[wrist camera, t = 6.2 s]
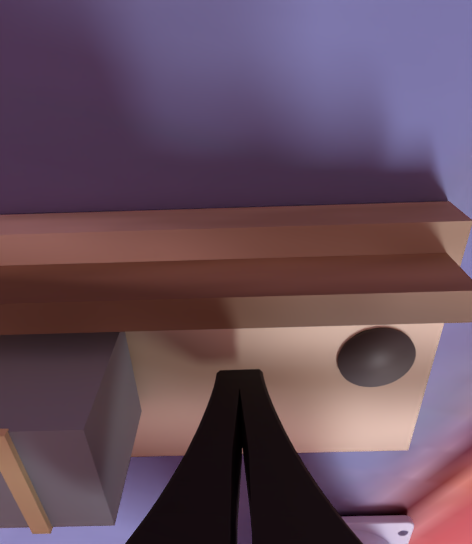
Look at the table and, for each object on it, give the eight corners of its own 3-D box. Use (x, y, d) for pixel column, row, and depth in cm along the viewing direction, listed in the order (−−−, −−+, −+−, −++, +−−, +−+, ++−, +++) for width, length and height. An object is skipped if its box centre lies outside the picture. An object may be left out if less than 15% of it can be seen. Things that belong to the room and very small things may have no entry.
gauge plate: (395, 419, 18) (468, 597, 12) (-153, 433, 18) (-323, 613, 13) (449, 201, 13) (613, 335, 7) (-313, 224, 13) (-715, 371, 8)
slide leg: (141, 412, 15) (113, 531, 12) (32, 414, 15) (-31, 534, 12) (122, 321, 13) (80, 434, 9) (-5, 324, 13) (-95, 437, 9)
